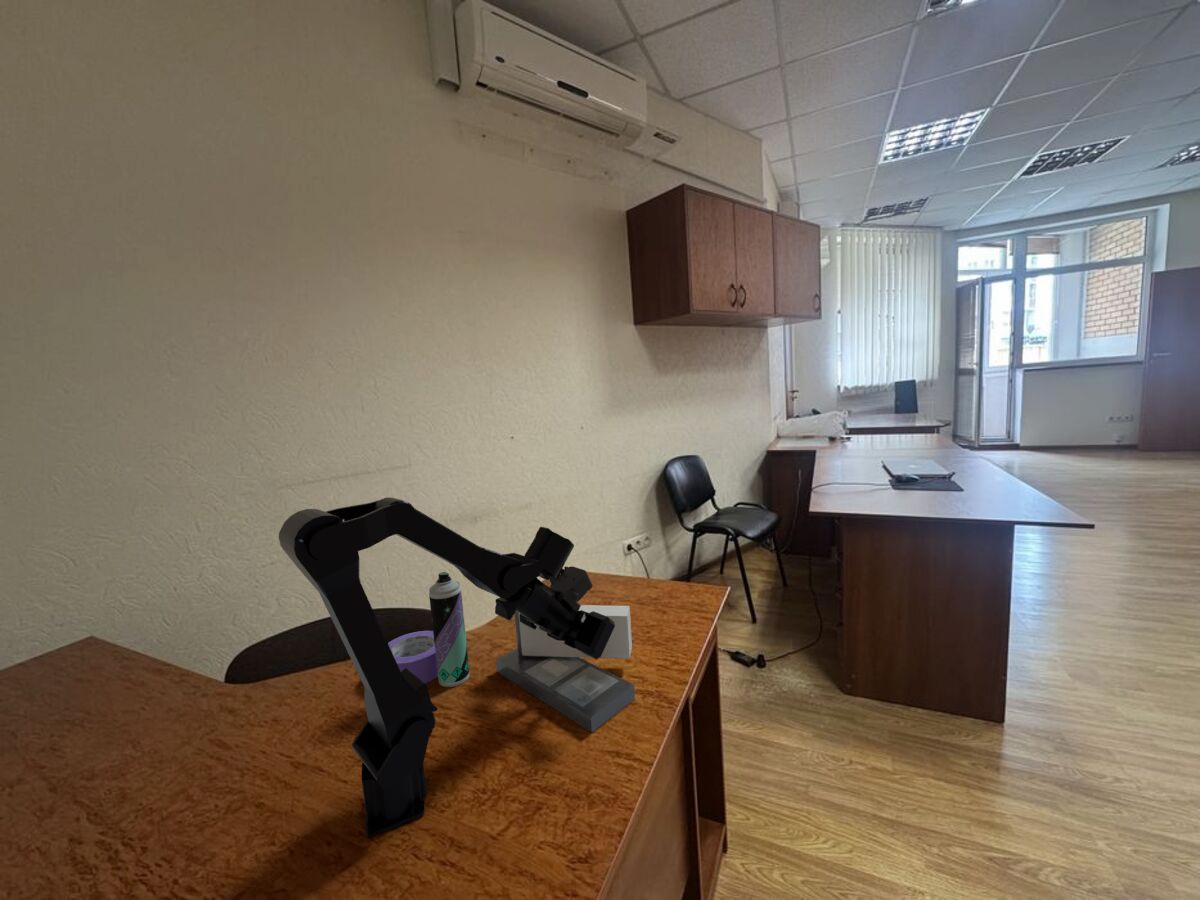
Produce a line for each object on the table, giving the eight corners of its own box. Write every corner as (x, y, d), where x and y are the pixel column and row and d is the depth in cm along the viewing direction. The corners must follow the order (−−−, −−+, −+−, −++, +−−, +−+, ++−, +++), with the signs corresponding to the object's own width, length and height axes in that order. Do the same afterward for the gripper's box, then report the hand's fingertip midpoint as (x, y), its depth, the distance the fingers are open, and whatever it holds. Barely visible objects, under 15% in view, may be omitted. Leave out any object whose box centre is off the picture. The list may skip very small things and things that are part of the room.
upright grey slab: (514, 655, 87) (510, 614, 86) (521, 643, 91) (518, 604, 90) (629, 658, 83) (627, 616, 82) (631, 646, 87) (629, 605, 86)
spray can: (432, 682, 85) (420, 577, 82) (454, 666, 90) (443, 566, 87) (454, 690, 82) (442, 581, 80) (476, 673, 87) (465, 569, 85)
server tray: (592, 732, 70) (590, 716, 69) (497, 671, 87) (495, 658, 87) (634, 699, 77) (634, 683, 76) (539, 648, 94) (538, 636, 94)
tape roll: (458, 653, 95) (455, 629, 94) (431, 689, 83) (428, 662, 83) (403, 653, 96) (400, 630, 95) (369, 689, 84) (366, 662, 84)
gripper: (603, 569, 71) (650, 613, 80) (528, 547, 84) (576, 587, 93) (568, 639, 66) (622, 677, 75) (494, 605, 79) (548, 640, 88)
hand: (590, 640), depth 83 cm, fingers closed
